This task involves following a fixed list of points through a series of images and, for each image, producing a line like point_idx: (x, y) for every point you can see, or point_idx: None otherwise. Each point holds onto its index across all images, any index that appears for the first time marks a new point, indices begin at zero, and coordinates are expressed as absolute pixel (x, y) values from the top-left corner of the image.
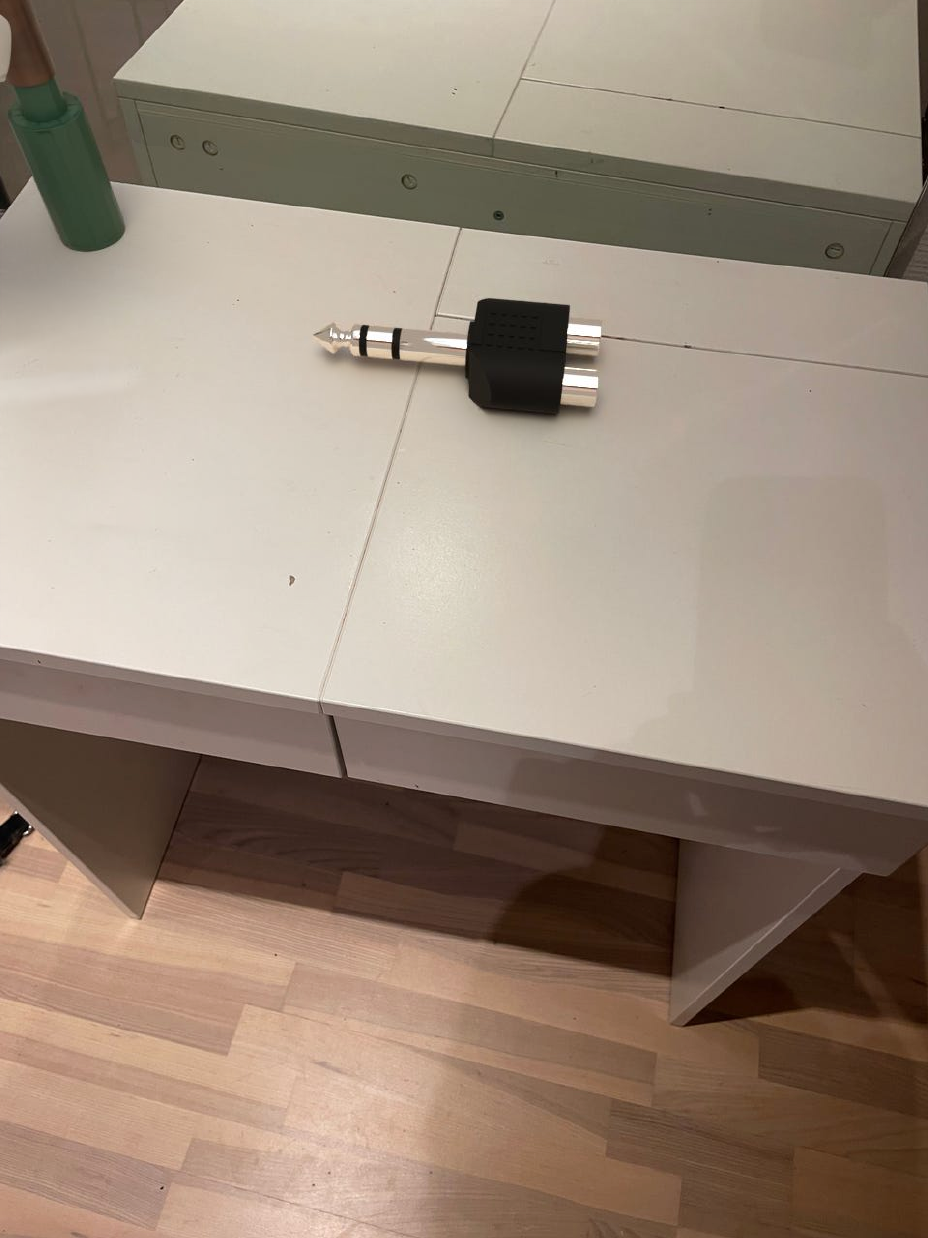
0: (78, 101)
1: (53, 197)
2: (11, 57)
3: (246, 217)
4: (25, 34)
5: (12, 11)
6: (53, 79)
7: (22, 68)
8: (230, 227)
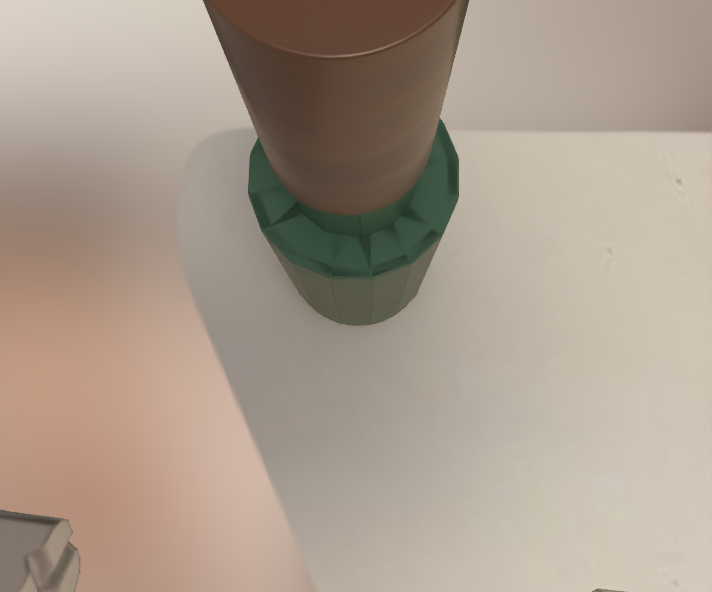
0: None
1: (345, 308)
2: (361, 184)
3: (656, 157)
4: (433, 118)
5: (430, 89)
6: None
7: (382, 190)
8: (635, 194)
